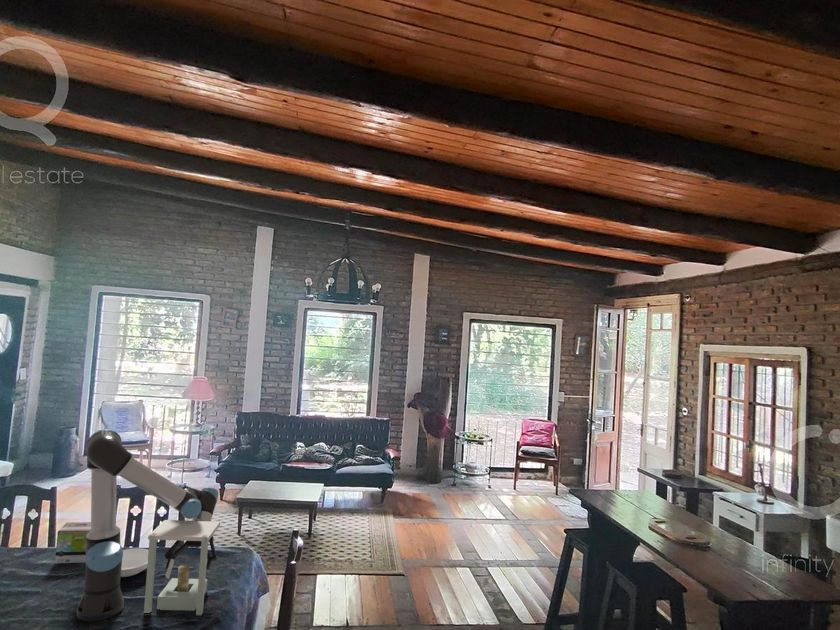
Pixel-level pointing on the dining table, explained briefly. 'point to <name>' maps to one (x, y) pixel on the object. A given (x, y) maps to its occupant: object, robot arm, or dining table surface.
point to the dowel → (183, 578)
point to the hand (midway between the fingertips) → (184, 577)
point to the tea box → (72, 542)
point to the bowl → (134, 561)
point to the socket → (170, 595)
